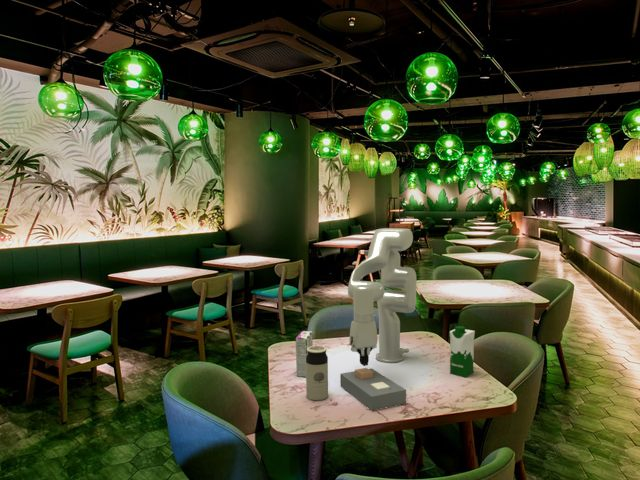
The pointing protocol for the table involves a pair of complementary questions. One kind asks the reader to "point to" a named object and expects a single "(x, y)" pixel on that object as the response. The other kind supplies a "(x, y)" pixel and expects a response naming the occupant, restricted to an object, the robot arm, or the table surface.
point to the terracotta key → (363, 373)
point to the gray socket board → (373, 390)
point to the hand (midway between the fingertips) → (364, 364)
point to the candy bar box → (302, 351)
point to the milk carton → (461, 351)
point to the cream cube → (380, 386)
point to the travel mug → (316, 373)
